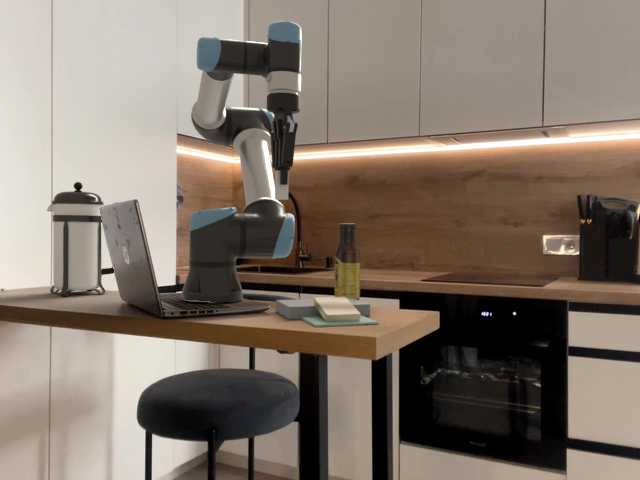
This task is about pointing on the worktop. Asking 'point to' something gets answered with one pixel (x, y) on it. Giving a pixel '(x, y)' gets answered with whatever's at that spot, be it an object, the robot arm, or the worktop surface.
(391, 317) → the worktop surface
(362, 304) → the grey slab
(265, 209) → the robot arm
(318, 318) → the mat
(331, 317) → the cream notepad
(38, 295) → the worktop surface
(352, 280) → the sauce bottle
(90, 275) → the coffee press
